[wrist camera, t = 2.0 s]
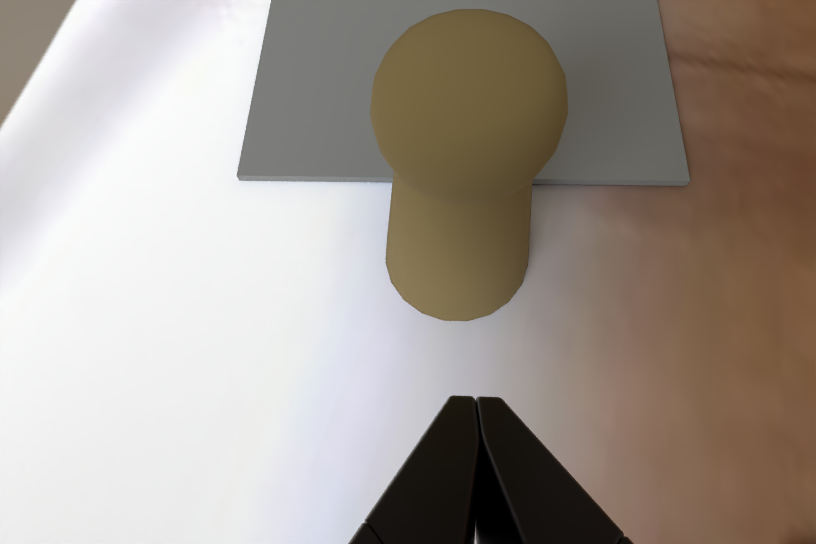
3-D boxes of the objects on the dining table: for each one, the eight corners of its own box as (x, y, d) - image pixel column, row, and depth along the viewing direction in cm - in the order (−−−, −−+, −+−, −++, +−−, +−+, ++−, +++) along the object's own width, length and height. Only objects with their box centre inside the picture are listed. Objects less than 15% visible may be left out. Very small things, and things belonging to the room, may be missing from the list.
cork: (356, 251, 23) (294, 60, 13) (456, 168, 25) (470, -63, 15) (455, 352, 21) (472, 217, 11) (558, 255, 23) (655, 58, 13)
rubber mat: (686, 185, 24) (690, 180, 23) (239, 180, 25) (236, 175, 25) (641, -63, 30) (644, -70, 30) (285, -58, 31) (283, -64, 31)
